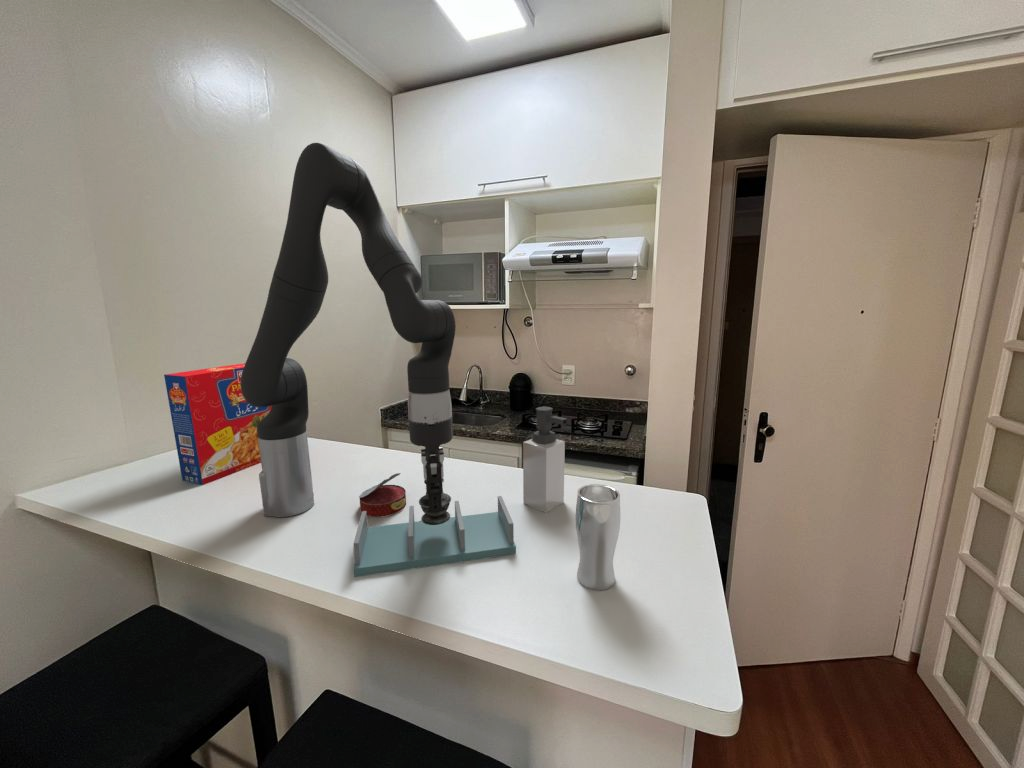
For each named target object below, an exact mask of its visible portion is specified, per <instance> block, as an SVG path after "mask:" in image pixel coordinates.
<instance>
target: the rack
mask: <svg viewBox="0 0 1024 768" xmlns="http://www.w3.org/2000/svg"><path fill="white" fill-rule="evenodd" d="M459 501H460V500H454V516H453V517H451V516H450V519H449V520H448V521H447V522H445V523H443V524H439V525H428V524H425V523H423V522H422V520H418V521H415V506H414V505H409V506H408V507H409V509H408V522H403V523H394V524H393V523H392V524H385V525H378V526H377V525H376V526H368V516H367V511H362V512H361V514H360V517H359V522H358V525H357V528H356V529H357V530H356V533H355V537H354V540H353V554H354V564H353V569H352V570H353V577H354V578H355V577H356V578H357V577H362V576H363V577H364V576H371V575H377V574H384V573H392V572H399V571H405V570H413V569H418V568H419V569H420V568H425V567H426V568H427V567H433V566H440V565H448V564H455V563H461V562H467V561H475V560H482V559H489V558H496V557H504V556H510V555H516V554H517V546H516V543H515V541H514V534H515V533H514V522H513V519H512V517H511V515H510V513H509V510H508V507H507V505H506V503H505V501H504V498H503V496H502V495H498V496H497V511H495V512H486V513H485V512H484V513H478V514H477V513H475V514H470V515H462V511H461V506H460V502H459Z"/></svg>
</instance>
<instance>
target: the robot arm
mask: <svg viewBox="0 0 1024 768" xmlns="http://www.w3.org/2000/svg"><path fill="white" fill-rule="evenodd" d="M291 187H292V188H291V192H290V193H291V194H290V201H289V207H288V212H287V213H288V214H287V220H286V225H285V229H284V234H283V238H282V242H281V246H280V251H279V254H278V258H277V261H276V265H275V267H274V270H273V274H272V279H271V283H270V285H269V290H268V294H267V298H266V304H265V307H264V310H263V313H262V317H261V320H260V322H259V323H260V324H259V325H258V326H259V327H258V330H257V332H256V333H257V334H256V336H255V339H254V341H253V344H252V346H251V349H250V351H249V353H248V357H247V359H246V361H245V366H244V368H243V371H242V375H241V391H242V395H243V397H244V398H245V400H246V401H247V402H248V403H249V404H250V405H252V406H256V407H267V406H272V408H271V410H270V412H269V413H268V414H267V416H266V417H265V418H263V419H262V420H261V421H260V422H259V423H258V425H257V435H258V443H259V450H260V457H261V463H260V464H261V472H259V474H258V480H259V485H260V486H259V487H260V494H261V501H262V509H263V515H264V516H265V517H267V516H271V517H274V518H287V517H293V516H297V515H299V514H302V513H305V512H307V511H308V510H310V509H311V508H312V507H313V506H314V505H315V499H314V498H315V496H314V495H315V494H314V488H313V479H312V478H313V477H312V469H311V458H310V451H309V450H310V449H309V441H308V432H307V422H308V419H309V409H310V408H309V393H308V389H309V388H308V381H307V376H306V372H305V370H304V369H303V367H302V365H301V364H300V363H299V362H298V361H296V360H295V359H294V358H289V357H288V355H289V353H290V351H291V349H292V347H293V346H294V344H295V343H296V342H297V340H298V339H299V338H300V337H301V336H302V335H303V334H304V332H305V331H306V330H307V328H309V326H310V325H311V324H312V323H313V321H315V319H316V318H317V316H318V314H319V313H320V311H321V307H322V306H323V305H322V304H323V303H324V300H325V299H324V298H325V295H326V292H327V289H328V285H329V272H328V266H327V263H326V262H327V261H326V258H325V255H324V251H323V250H324V249H323V246H322V240H321V230H322V224H323V219H324V214H325V212H326V208H327V207H330V208H334V209H337V210H341V211H343V212H344V213H345V214H346V215H347V216H348V217H349V218H350V219H351V220H352V222H353V223H354V224H355V226H356V227H357V229H358V231H359V233H360V234H359V235H360V237H361V252H362V256H363V259H364V263H365V266H366V267H367V269H368V270H369V271H368V272H370V274H371V275H372V277H373V279H374V280H375V282H376V284H377V285H378V287H379V288H380V290H381V292H382V293H383V295H384V298H385V303H386V307H387V310H388V314H389V317H390V319H391V323H392V326H393V328H394V330H395V331H396V333H397V334H398V335H399V336H400V337H401V338H402V339H403V340H404V341H406V342H408V343H411V344H421V347H420V352H419V353H418V354H417V355H415V356H413V357H412V358H410V359H409V360H408V362H407V367H406V368H407V385H408V396H407V397H408V398H407V410H408V411H407V412H408V413H407V414H408V429H409V442H411V444H413V445H414V446H418V447H424V448H421V449H420V453H421V455H420V457H421V461H420V462H421V463H422V466H423V467H422V468H423V479H424V480H427V493H428V499H429V512H430V513H436V512H441V511H442V503H441V494H442V491H443V492H444V488H442V485H443V482H442V478H443V479H444V476H445V475H444V461H445V453H444V447H440V446H441V445H445V444H448V443H449V442H451V441H452V440H453V435H454V434H453V414H452V413H453V412H452V411H453V410H452V406H453V405H452V398H451V392H450V373H449V366H450V365H449V364H450V361H451V356H452V351H453V345H454V343H455V342H454V341H455V335H456V327H457V326H456V319H455V314H454V312H453V309H452V308H451V306H450V305H449V304H448V303H447V302H446V301H443V300H439V299H420V297H419V296H418V295H417V293H418V292H419V291H420V290H421V288H422V284H423V279H422V276H421V274H420V272H419V270H418V269H417V267H416V266H415V264H414V262H413V261H412V260H411V259H410V256H409V254H407V252H406V250H405V249H404V247H403V246H402V244H401V243H400V242H399V240H398V238H397V236H396V235H395V232H394V231H393V228H392V227H391V225H390V223H389V221H388V219H387V216H386V214H385V212H384V210H383V208H382V205H381V203H380V201H379V199H378V196H377V193H376V191H375V189H374V187H373V185H372V183H371V179H370V178H369V176H368V174H367V172H366V170H365V169H364V167H363V166H362V165H361V164H360V163H359V162H357V161H356V160H354V159H353V158H351V157H350V156H347V155H346V154H344V153H342V152H339V151H338V150H335V149H334V148H332V147H330V146H328V145H325V144H323V143H320V142H312V143H309V144H308V145H306V146H305V147H304V149H302V151H301V154H300V155H299V157H298V160H297V162H296V167H295V170H294V175H293V180H292V186H291ZM431 483H438V485H439V486H430V484H431Z"/></svg>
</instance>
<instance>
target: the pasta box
mask: <svg viewBox="0 0 1024 768" xmlns="http://www.w3.org/2000/svg"><path fill="white" fill-rule="evenodd" d="M245 363H246V362H245ZM245 363H237V364H231V365H229V364H228V365H224V366H217V367H210V368H202V369H195V370H189V371H188V370H187V371H180V372H174V373H166V374H163V377H164V381H165V382H164V384H165V389H166V395H167V400H168V405H169V412H170V417H171V423H172V427H173V428H172V429H173V435H174V441H175V446H176V452H177V456H178V463H179V469H180V475H181V481H182V482H187V483H191V484H195V485H199V486H204V485H207V484H210V483H212V482H215V481H218V480H220V479H223V478H225V477H229V476H230V475H233V474H236V473H238V472H241V471H243V470H246V469H248V468H251V467H253V466H257V465H259V464H261V457H260V450H259V443H258V435H257V425H258V423H259V422H260V421H261V420H262V419H263V418H265V417H266V416H267V414H268V413H269V412H270V410H271V408H272V406H267V407H256V406H252V405H250V404H249V403H248V402H247V401H246V400H245V398H244V397H243V395H242V391H241V375H242V371H243V368H244V366H245Z"/></svg>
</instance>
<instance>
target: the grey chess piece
mask: <svg viewBox="0 0 1024 768" xmlns="http://www.w3.org/2000/svg"><path fill="white" fill-rule="evenodd" d="M444 481H445V479H444V477H443V478H442V483H444ZM423 483H424V484H425V491H426V492H425V495H423V496H421V497H420V498H419V500H418V504H419V505H420V509H421V510H422V512H423V515H422V516H421V517H420V519H421V521H422V522H423V523H425V524H428V525H439V524H443V523H445V522H447V521H448V520H449V519H450V518H451V514H450V512H448V511H447V510H448V509H449V508H450V503H451V501H452V497H451V496H450V495H449V494H448V493H445V492H444V490H443V491H442V494H441V503H442V511H441V512H436V513H430V512H429V499H428V493H427V480H425V479H424V481H423ZM430 486H439V485H438V483H431V484H430ZM442 488H443V484H442ZM443 489H444V488H443Z"/></svg>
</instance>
